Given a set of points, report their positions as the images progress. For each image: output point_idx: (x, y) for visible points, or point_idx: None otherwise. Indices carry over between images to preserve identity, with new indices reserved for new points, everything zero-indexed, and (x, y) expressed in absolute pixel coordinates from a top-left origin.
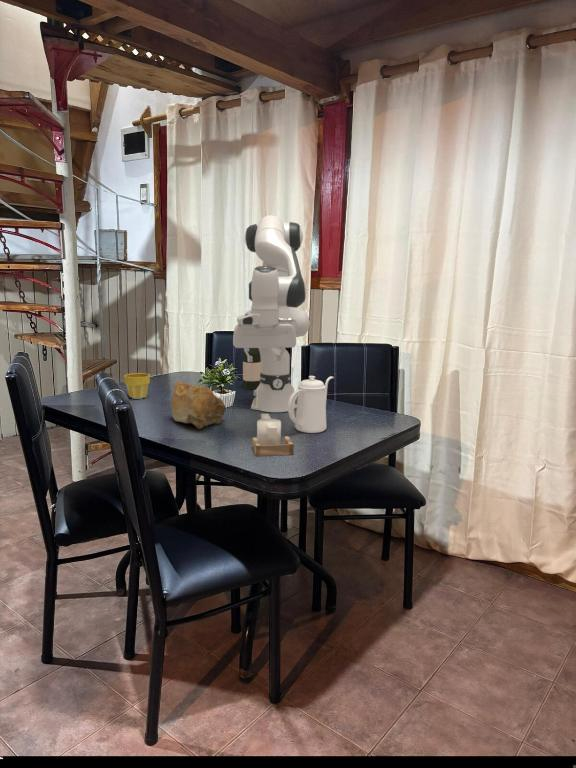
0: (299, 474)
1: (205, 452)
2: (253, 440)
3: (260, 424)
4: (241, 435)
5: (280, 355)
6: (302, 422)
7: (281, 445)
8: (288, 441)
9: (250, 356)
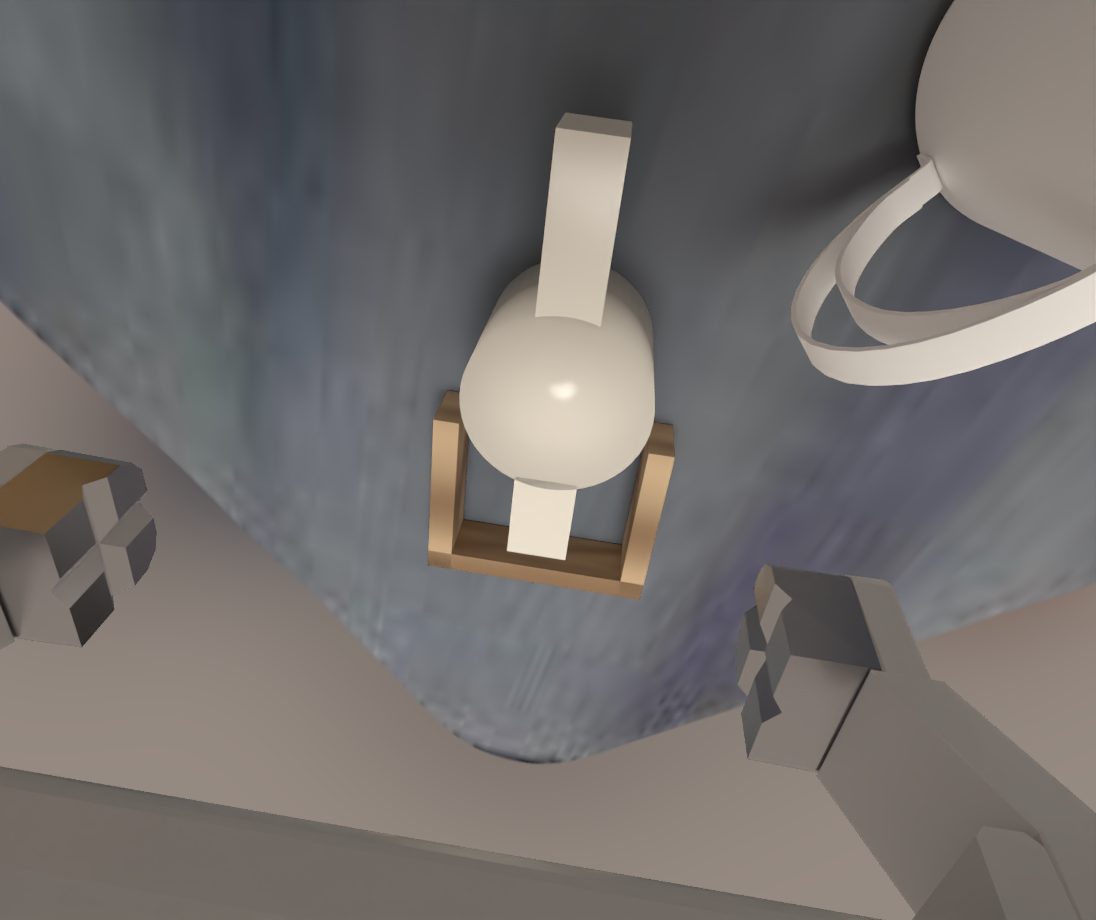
0: (573, 745)
1: (170, 405)
2: (433, 452)
3: (475, 444)
4: (408, 106)
5: (835, 798)
6: (957, 186)
7: (570, 586)
8: (634, 544)
9: (23, 624)
